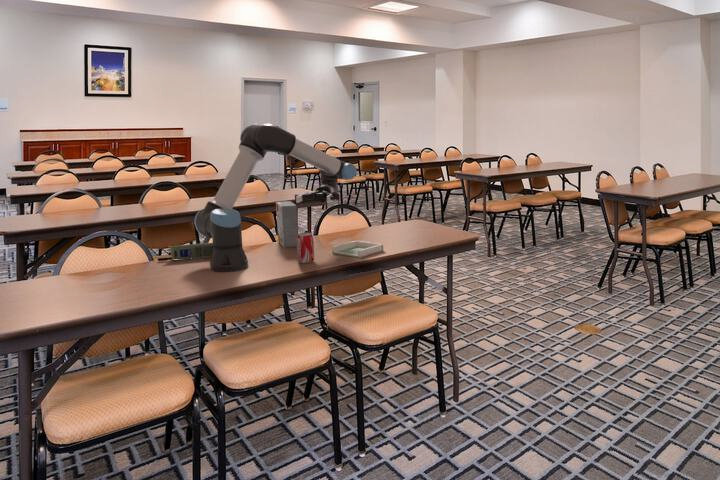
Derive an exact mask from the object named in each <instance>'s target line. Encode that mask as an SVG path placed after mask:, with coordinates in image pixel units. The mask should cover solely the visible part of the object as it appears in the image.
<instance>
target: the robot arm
mask: <svg viewBox="0 0 720 480" xmlns="http://www.w3.org/2000/svg"><path fill="white" fill-rule="evenodd" d="M239 139H240V143H239V145H238V150H239V153H238V154H237V156H236V158H235V160H234V161H233V164H232V165H231V167H230V168H229V170H228V173H227V175H226V176H225V178H224V179H223V181H222V184H220V187H219V189H218V190H217V192H216V194H215V196H214V198H213V199H212V200H211V199H210V200H208V201H207V202H206V205H205V206H204V208H202V209H200V210H199V211H198V212H197V213H196V214H195V217H194V220H193V223H194V226H195V227H194V228H195V229H196V231H197V232H198V233H199V234H200V235H202V236H203V237H205V238H208V239H209V238H210V239H211V240H212V243H213V253H212V257H211V258H210V263H209V269H210V270H211V271H212V272H213V271H214V272H221V273H222V272H234V271H240V270H243V269H246V268H247V267H249V260H248V257H247V255H246V252H245V249H244V248H243V246H244V245H243V237H242V233H243V232H242V218H241V214H240V212H239V211H238V210H236V209H233V208H234V206H235V205H236V202H237V200H238V198H239V196H240V195H241V194H242V192H243V189H244V188H245V185H246V184H247V182H248V180H249V179H250V176H251V174H252V173H253V170H254V169H255V167H256V165H257V164H258V162H260V161H263V160H264V158H265V156H266V154H267V153H269V152H270V153H276V154H277V153H278V154H279V155H283V156H290V157H294V158H295V159H297V160H299V161H302V162H303V163H306V164H308V165H310V166H312V167H314V168H316V169H319V171H320V173H319V174H320V186H318V187H317V188H316V189H315V191H311V192H309V191H307V192H303V193H297V194H294V200H295V201H296V203H297V204H298V203H302V202H303V201H306V200H307V201H308V200H312V201H316V200H317V202H319V203H331V202H333V201H335V200H336V201H340V194H339V190H340V189H339V186H338V184H337V180H345V181H348V180H349V181H351V180H353V179H354V178H355V177H356V175H357V168H356V166H355V164H353V163H350V162H344V161H343V160H340V159H338V158H336V157H334V156H333V155H330V154H328V153H326V152H324V151H322V150H320V149H317V148H316V147H313V146H311V145H310V144H308V143H306V142H304V141H302V140H300V139H298V138H297V137H296V135H295V134H293V133H291V132H289V131H288V130H285V129H283V128H282V127H280V126H277V125H274V124H272V123H263V124H260V123H259V124H258V123H253V124H251V125H247V126H246V127H244V129H243V130H242V131H241V132H240V137H239Z"/></svg>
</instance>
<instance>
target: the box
mask: <svg viewBox="0 0 720 480" xmlns="http://www.w3.org/2000/svg"><path fill="white" fill-rule="evenodd" d="M331 249H332V251H331V252H332V254H335V255H340V256H347V257H353V258H359V259H360V258H364V257H367V256H371V255H374V254H378V253H381V252H383V251H384V244H383V243H377V242H375V243H374V242H368V241H362V240H353V241H349V242H344V243H342V244H338V245H337V244H336V245H333V246H332V247H331Z"/></svg>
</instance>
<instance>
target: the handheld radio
mask: <svg viewBox="0 0 720 480" xmlns="http://www.w3.org/2000/svg"><path fill="white" fill-rule="evenodd" d="M168 251H169V252H168V253H167V255H168V256H170V257H158V258H157V261H158V262H163V261H164V262H165V261H172V260H173V259H184V260H183V261H187V260H186V259H191V258H192V259H191V260H194V259H193V258H202V259H208V258H209V259H211V257H212V253H213V242H206V243H205V242H204V243H195V244H194V243H192V244H182V245H181V244H179V245H172V246H171V245H169V246H168Z"/></svg>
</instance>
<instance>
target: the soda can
mask: <svg viewBox="0 0 720 480" xmlns="http://www.w3.org/2000/svg"><path fill="white" fill-rule="evenodd" d="M314 241H315V240H314V237H313V235H312V232H300V233H299V232H298V236H297V247H296V256H297V261H298V263H300V264H311V263H313V262H314V260H315V245H314V243H315V242H314Z"/></svg>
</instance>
